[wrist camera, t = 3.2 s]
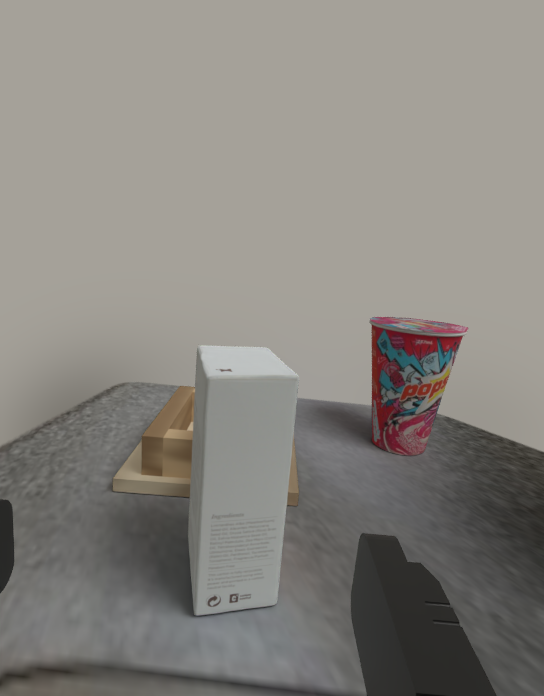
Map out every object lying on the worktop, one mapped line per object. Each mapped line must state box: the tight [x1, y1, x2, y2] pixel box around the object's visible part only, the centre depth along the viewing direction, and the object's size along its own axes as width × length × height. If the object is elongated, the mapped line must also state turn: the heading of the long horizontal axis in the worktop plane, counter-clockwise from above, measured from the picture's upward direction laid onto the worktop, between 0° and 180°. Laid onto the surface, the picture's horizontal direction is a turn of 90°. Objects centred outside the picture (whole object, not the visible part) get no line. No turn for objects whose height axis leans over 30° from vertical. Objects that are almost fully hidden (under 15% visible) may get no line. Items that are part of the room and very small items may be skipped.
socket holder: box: [113, 386, 299, 506], centre depth 35 cm, size 13×13×4 cm
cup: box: [370, 317, 468, 456], centre depth 40 cm, size 9×8×12 cm
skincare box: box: [188, 345, 299, 616], centre depth 21 cm, size 6×4×12 cm
